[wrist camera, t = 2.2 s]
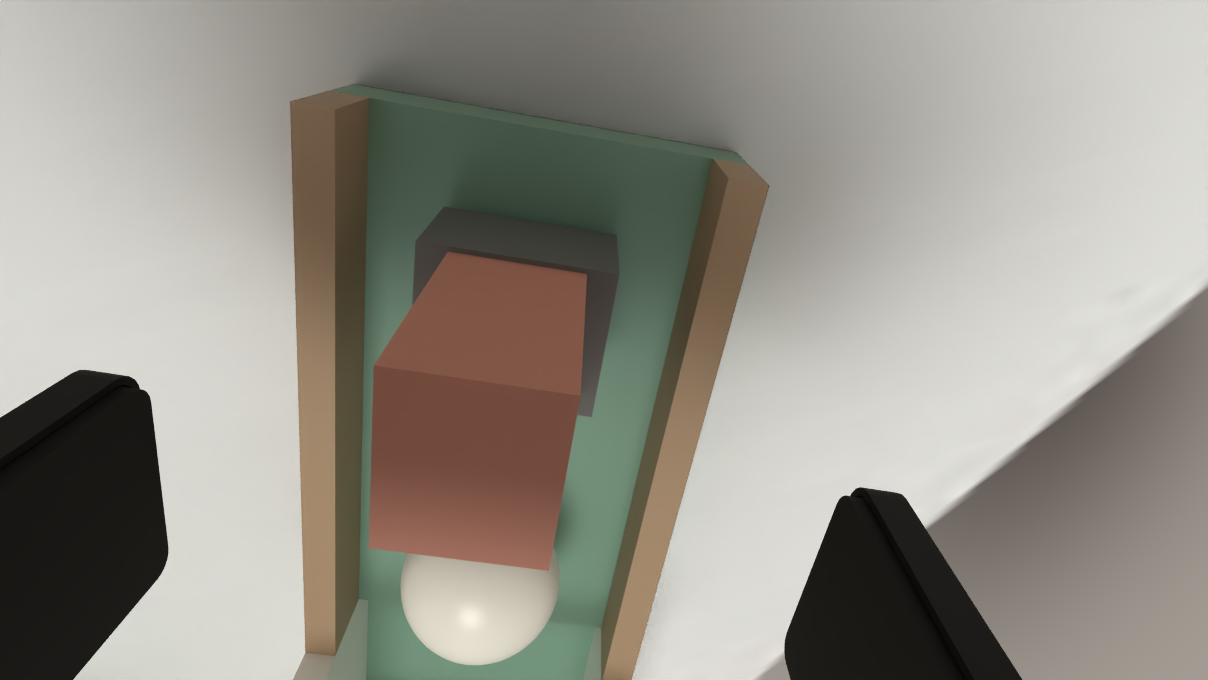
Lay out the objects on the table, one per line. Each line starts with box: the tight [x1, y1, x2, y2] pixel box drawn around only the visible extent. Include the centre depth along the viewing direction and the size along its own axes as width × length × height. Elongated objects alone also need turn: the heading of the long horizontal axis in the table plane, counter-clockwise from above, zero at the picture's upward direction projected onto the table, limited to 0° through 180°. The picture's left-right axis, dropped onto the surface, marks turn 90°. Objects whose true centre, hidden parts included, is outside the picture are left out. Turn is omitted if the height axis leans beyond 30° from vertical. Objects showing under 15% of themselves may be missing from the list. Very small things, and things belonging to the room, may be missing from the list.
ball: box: [400, 545, 560, 665], centre depth 17 cm, size 4×4×4 cm
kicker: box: [369, 206, 619, 571], centre depth 12 cm, size 3×4×7 cm
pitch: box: [290, 84, 769, 680], centre depth 17 cm, size 21×9×7 cm, turn 170°
